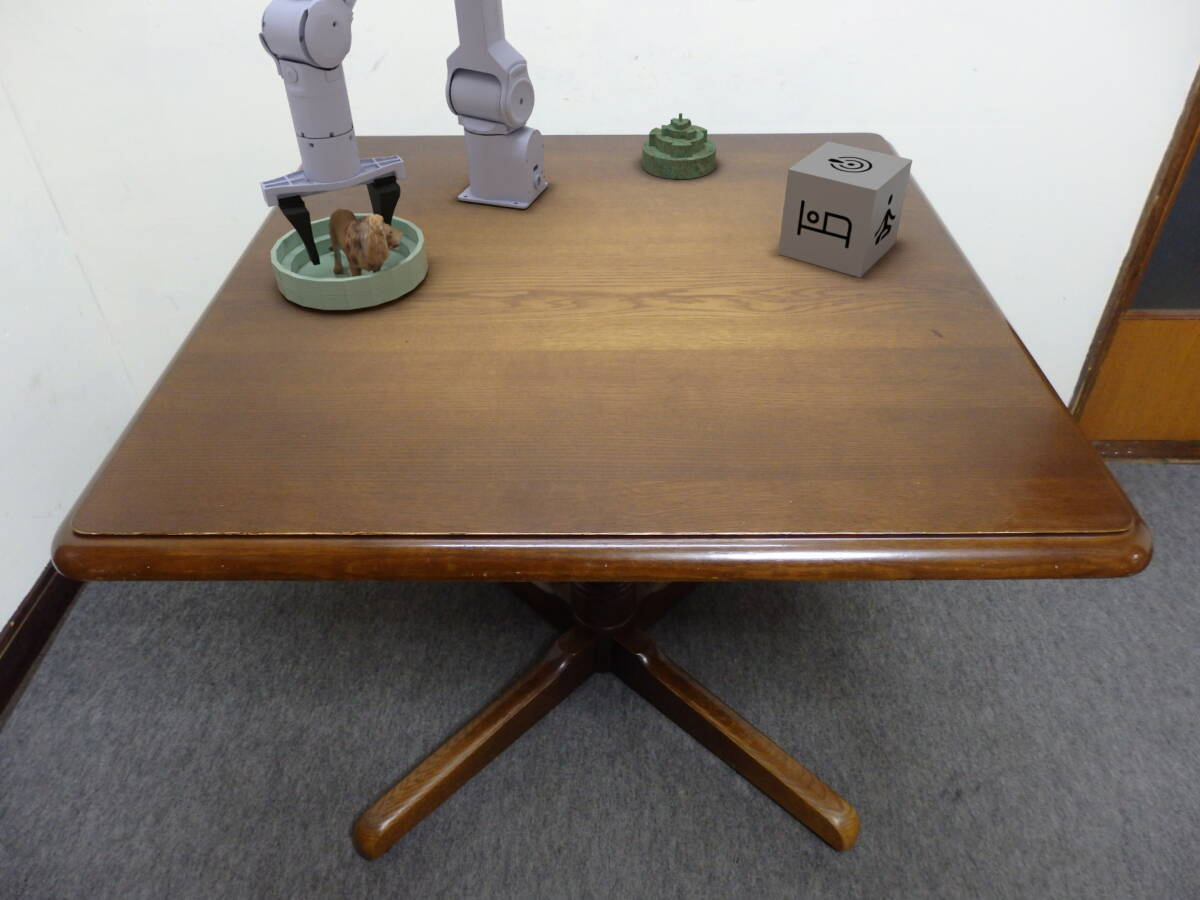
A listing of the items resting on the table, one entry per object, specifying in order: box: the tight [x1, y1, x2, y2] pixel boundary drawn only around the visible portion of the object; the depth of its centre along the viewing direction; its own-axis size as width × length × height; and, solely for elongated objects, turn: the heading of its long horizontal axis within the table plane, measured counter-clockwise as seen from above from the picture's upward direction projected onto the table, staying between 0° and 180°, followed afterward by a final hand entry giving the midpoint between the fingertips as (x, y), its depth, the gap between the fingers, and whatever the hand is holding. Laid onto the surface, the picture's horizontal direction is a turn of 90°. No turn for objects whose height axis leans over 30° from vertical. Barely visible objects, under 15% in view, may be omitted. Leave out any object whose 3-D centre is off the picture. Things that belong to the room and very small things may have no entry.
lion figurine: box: [328, 208, 403, 277], centre depth 97 cm, size 15×5×9 cm, turn 41°
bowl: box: [270, 212, 429, 311], centre depth 100 cm, size 16×16×4 cm
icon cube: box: [777, 141, 913, 278], centre depth 102 cm, size 10×10×10 cm
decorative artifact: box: [641, 112, 717, 180], centre depth 123 cm, size 10×7×10 cm
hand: (349, 253), depth 99 cm, fingers open, 7 cm apart
